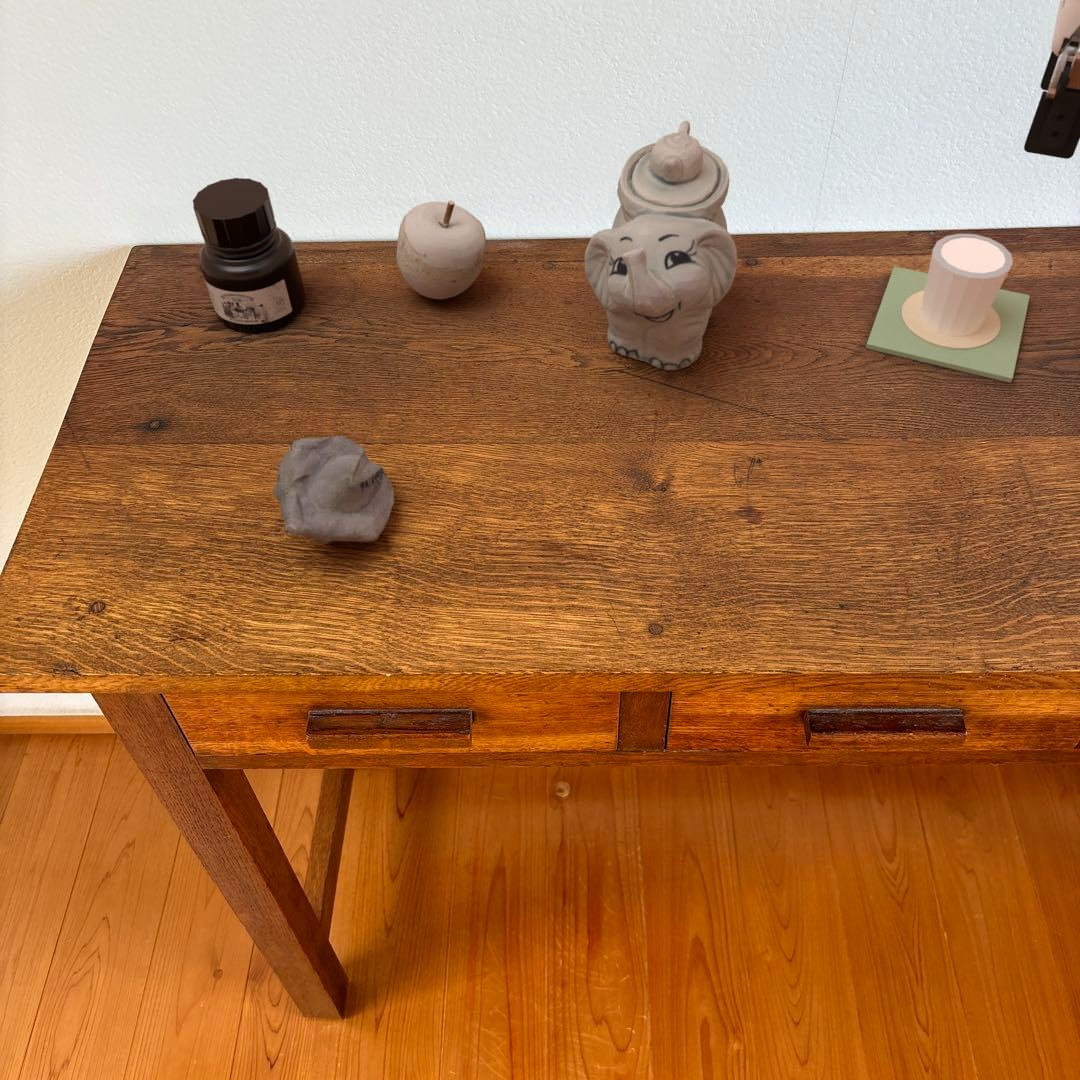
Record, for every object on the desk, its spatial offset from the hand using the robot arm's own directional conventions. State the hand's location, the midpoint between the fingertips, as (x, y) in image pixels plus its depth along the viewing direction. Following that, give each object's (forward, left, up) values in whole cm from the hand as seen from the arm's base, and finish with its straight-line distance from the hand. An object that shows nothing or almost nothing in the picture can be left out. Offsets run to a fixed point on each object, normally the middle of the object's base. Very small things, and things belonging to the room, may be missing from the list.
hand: (1054, 121), depth 73 cm
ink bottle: (+65, +14, -25) cm, 71 cm away
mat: (+2, -8, -24) cm, 26 cm away
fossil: (+43, +36, -25) cm, 61 cm away
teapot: (+27, +5, -25) cm, 37 cm away
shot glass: (+2, -8, -24) cm, 25 cm away
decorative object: (+49, +5, -25) cm, 55 cm away
